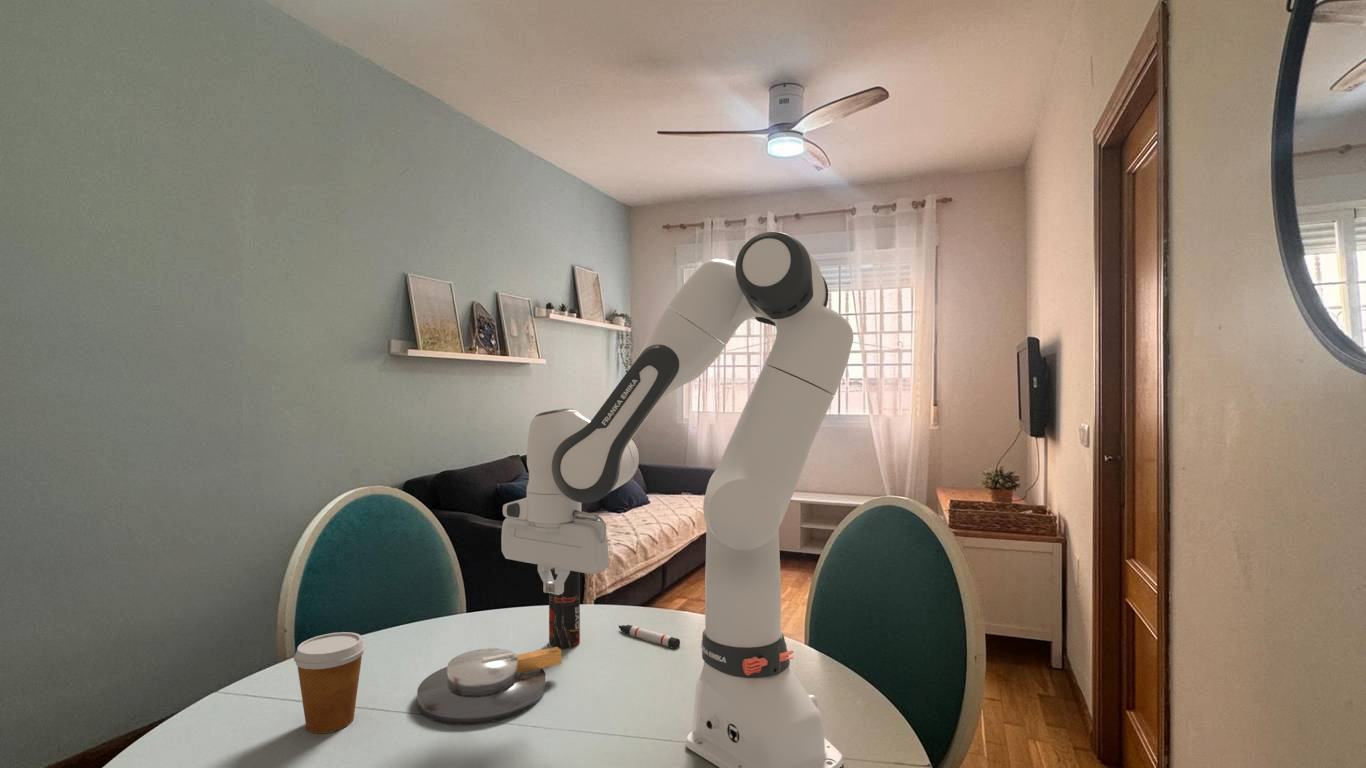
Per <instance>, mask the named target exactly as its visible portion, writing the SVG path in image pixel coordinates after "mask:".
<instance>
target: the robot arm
mask: <svg viewBox="0 0 1366 768" xmlns="http://www.w3.org/2000/svg"><path fill="white" fill-rule="evenodd" d="M828 302H829V287H828V284H827V281H826V280H825V277H824V276H823V275H822V272H821V269H820V266H819V264H818V263H817V261H816V260H815V258H814V257H813V255H811V254H810V252H808V250H807V249H806V247H805V246H804V244H803V243H801V241H799V240H798V239H797V238H795V237H793V236H791V235H790V234H787V233H784V232H780V231H766V232H761V233H759V234H757V235H755V236H754V237H752V238H750V239H749V240H747V242H745V244H744V245H743V246H742V248H741V249H740V250H739V253H738V254H737V257H736V261H735V263H734V262H732V261H729V260H727V259H722V258H721V259H720V258H714V259H713V258H712V259H709V260H707V261H705V262H704V263H702V265H700V267H698V268H697V269H696V270H695V271H694V272H693V274H691V276H690V277H689V278H688V279H687V280H686V282H684V284H682V286H681V287H680V288H679V290H678V291H677V292H676V293H675V295H674V296H673V298H672V299H671V301H670V302H669V304H668V306H667V307H666V308H665V309H664V311H663V313H662V314H661V316H660V317H659V319H658V320H657V322H656V324H655V325H654V327H653V328H652V331H651V333H650V335H649V336H648V338H647V340H646V342H645V343H644V345H643V347H642V349H641V350H639V351H640V352H639V353H638V355H637V356H636V358H635V360H634V362H633V363H632V365H631V366H630V368H629V369H628V371H627V372H626V373H625V374H624V376H623V377H622V379H621V380H620V381H619V383H618V384H617V385H616V386H615V388H614V389H613V391H612V392H611V393H610V395H609V397H607V399H606V400H605V402H604V403H603V404H602V406H601V407H600V408H599V409H598V411H597V412H596V414H595V415H594V416H593V418H591V420H590V419H589V418H588V417H586V416H584V415H583V414H581V413H580V412H579V411H578V410H577V409H576V408H569V407H565V408H559V409H552V410H548V411H544V412H540V413H538V414H535V416H534V417H533V418H532V419H531V421H530V423H529V428H528V429H529V430H528V436H527V445H526V446H527V447H526V466H527V471H528V481H527V485H526V497H523V498H521V499H517V500H514V501H510V502H507V503H505V504H503V505H502V515H503V517H505V519H504V520H503V522H502V525H501V537H500V538H501V548H500V549H501V553H502V554H503V556H504V558H505V559H506V560H512V561H517V562H522V563H529V564H533V565H537V573H538V575H539V577H540V579H541V581H542V582H543V584H542V585H543V590H542V591H543V593H546V594H549V593H551V594H555V595H560V594H562V593H563V592H564V582H565V581H566V579H567V577H568V575H569V573H570V570H571V571H576V572H580V573H583V574H588V575H597V574H599V573H602V572H604V571H606V570H607V568H608V566H609V565H610V554H609V553H610V552H609V542H608V535H607V524H606V521H605V520H604V519H603V518H602V516H600V514H598V513H595V512H586V511H582V504H591V503H595V502H598V501H600V500H602V499H603V498H605V497H606V496H607V495H608V494H610V493H612V491H615V490H616V489H618V488H619V487H621V486H623V485H625V484H626V483H628V482H629V481H630V480H631V479H632V478H633V477H634V476H635V474H636V473H637V471H638V469H639V467H640V466H639V465H640V461H641V460H640V452H639V447H638V446H637V443H636V442H635V441H634V439H633V438H634V436H635V435H636V434H637V432H638V431H639V429H640V428H641V427H642V426H643V424H644V422H645V421H646V420H647V419H648V417H649V416H650V415H651V413H652V412H653V410H654V409H655V407H657V406H658V404H659V403H660V402H661V401H662V400H663V399H665V398H666V397H667V396H668V395H669V394H671V393H672V392H674V391H675V390H678V389H679V388H681V387H682V386H684V385H686V384H689V383H690V382H692V381H695V380H696V379H699V377H700V376H701V375H703V374H704V373H705V372H706V370H708V369H709V367H710V366H711V365H712V364H713V363H714V362H715V361H716V360H717V358H718V357H719V356H720V354H721V353H722V351H723V350H724V349H725V347H726V346H727V344H728V343H729V342H730V340H731V338H732V337H733V336H734V334H735V333H736V331H737V330H738V328H739V327H741V325H742V324H743V323H744V322H746V321H747V320H749V319H751V318H754V319H755V320H756V321H757V322H758V323H761V324H762V323H763V324H767V325H770V326H773V327H775V328H776V329H775V331H776V335H775V339H774V343H773V345H772V347H771V349H770V352H769V354H768V356H767V358H766V360H765V362H764V365H763V366H762V369H761V370H760V373H759V375H758V377H757V378H756V379H757V380H756V382H755V384H754V386H753V388H752V390H751V392H750V395H749V396H748V399H747V401H746V403H745V405H744V407H743V410H742V411H741V413H740V416H739V419H738V421H737V423H736V424H735V425H736V426H735V428H734V430H733V432H732V434H731V436H730V439H729V441H728V443H727V444H726V448H725V450H724V453H723V454H722V457H721V459H720V461H719V463H718V466H717V467H716V469H715V471H713V473H712V475H710V476H711V477H710V478H709V480H708V483H707V486H706V491H705V495H704V498H703V503H702V504H703V505H702V507H703V508H702V509H703V511H702V513H703V517H704V521H705V524H706V527H705V528H706V529H705V530H706V533H705V534H706V535H705V537H706V539H705V573H704V593H705V594H704V599H705V600H704V608H705V609H704V626H705V628H704V630H703V631H702V638H701V643H700V644H701V646H700V649H701V657H702V660H703V661H704V662H703V667H702V670H701V673H700V675H699V678H698V680H697V681H696V682H697V683H696V687H695V695H694V706H693V707H694V708H693V709H694V710H693V717H692V718H693V720H692V729H691V731H690V732H689V733H688V734H687V736H686V739H685V746H686V748H687V749H689V750H690V751H692V752H694V753H695V754H697V755H699V756H700V757H702V758H703V759H705V760H707V761H708V762H710V763H711V764H713V765H715V766H716V767H718V768H840V767H841V768H842V766H843V764H844V759H843V758H844V757H843V754H842V753H841V752H840V751H839V750H838V749H837V748H836V747H835V746H834V745H833V744H832V743H831V742H830V741H829V740H828V739H827V738H826V737H825V732H824V723H823V719H822V715H821V713H820V711H819V709H818V701H817V699H816V696H815V695H814V694H810V693H809V694H808V693H807V691H806V689H805V688H804V686H803V685H802V683H801V682H800V681H799V679H798V677H797V676H796V674H795V673H794V672H793V669H792V668H791V666H790V665H791V664H790V663H791V662H790V661H791V660H793V659H795V658H794V656H790V655H792V654H793V653H794V650H788V646H787V642H786V639H785V637H784V633H783V632H782V575H781V574H782V573H781V560H780V554H781V553H780V530H779V528H780V526H781V524H782V522H783V519H784V517H785V514H786V512H787V510H788V508H789V505H790V503H791V501H792V497H793V495H794V493H795V490H796V489H797V488H796V487H797V485H798V482H799V480H800V477H801V475H802V472H803V469H804V467H805V463H806V461H807V459H808V458H807V457H808V455H809V452H810V450H811V448H812V445H813V443H814V440H815V438H816V436H817V433H818V432H819V429H820V428H821V425H822V423H823V421H824V419H825V417H826V414H827V413H828V410H829V408H830V406H831V404H832V402H833V399H834V398H835V396H836V393H837V391H838V388H839V387H840V384H841V382H842V379H843V376H844V373H845V371H846V368H847V365H848V361H849V358H850V355H851V351H852V346H853V342H854V332H853V331H854V330H853V328H852V326H851V325H850V322H848V320H847V319H846V318H845V317H844V316H842V315H841V314H840V313H839V312H836V310H835V311H834V310H833V309H831V308H828V304H829V303H828ZM553 567H554V568H555V574H558V575H557V578H556V580H554V579H553V576H552V573H551V570H550V569H552V568H553Z"/></svg>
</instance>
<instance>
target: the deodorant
mask: <svg viewBox="0 0 1366 768" xmlns="http://www.w3.org/2000/svg"><path fill="white" fill-rule="evenodd" d="M550 570H551V573H552V576H553V579H554V580H556V578H557V575H558V574H555V568H554V567H553V568H552V569H550ZM580 575H581V572H576V571H571V570H570V573H569V575H568V577H567V579H566V581H565V582H564V592H563V593H562V594H560V595H555V594H551V593H548V644H549V645H548V646H549V647H550V648H553V647H558V648H559V649H560V650H568V649H573V648H574V647H577V646H579V644H580V642H581V627H580V626H581V621H580V620H581V619H580V617H581V612H580V611H581V607H580V605H581V603H580V601H581V594H580V593H581V590H580V589H581V585H580V584H581V583H580V582H581V578H580V577H581V576H580Z"/></svg>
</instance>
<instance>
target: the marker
mask: <svg viewBox="0 0 1366 768" xmlns="http://www.w3.org/2000/svg"><path fill="white" fill-rule="evenodd" d="M618 629H619V630H620V632H622V633H624V634H625V635H627V634H628V636H630V635H631V637H633V636H635V637H634V638H637V637H638V638H637V639H640V638H641V640H643V639H645V640H644V641H647V640H648V642H650V641H651V643H653V642H654V644H657V643H658V645H660V644H661V645H660V646H664V647H667V646H668V647H667V648H671V647H672V649H674V648H676V649H678V648H679V647H680V646H681V640H680V638H677V637H673V636H672V635H671V636H670V635H667V634H663V633H659V632H657V631H652V630H648V629H645V628H643V627H639V626H635V625H631V624H626V625H625V624H624V625H623V624H622V625H618ZM677 647H678V648H677Z"/></svg>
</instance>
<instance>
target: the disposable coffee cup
mask: <svg viewBox="0 0 1366 768" xmlns="http://www.w3.org/2000/svg"><path fill="white" fill-rule="evenodd" d="M366 648H367V647H366V643H365V642H364V640H363V636H362V635H361V634H359V633H356V632H346V631H345V632H344V631H341V632H331V633H326V634H322V635H317V636H314V637H311V638H309V639H306V640H304V641H302V642H301V643H300V644H299V645H298V646H297V648H296V653H295V654H294V655H293V661H294V662H295V665H296V666H297V671H298V672H297V673H298V678H299V679H298V680H299V688H300V693H301V700H302V707H303V714H304V721H305V728H306V731H307V732H309V733H312V734H327V733H328V734H329V733H333V732H335V731H339V730H341V729H344V728H345V727H347V726H349V725H350V724H352V723H353V721H354V718H355V712H356V703H357V695H358V689H359V681H360V673H361V664H362V658H363V657H362V656H363V654H364V652H365V650H366Z"/></svg>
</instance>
